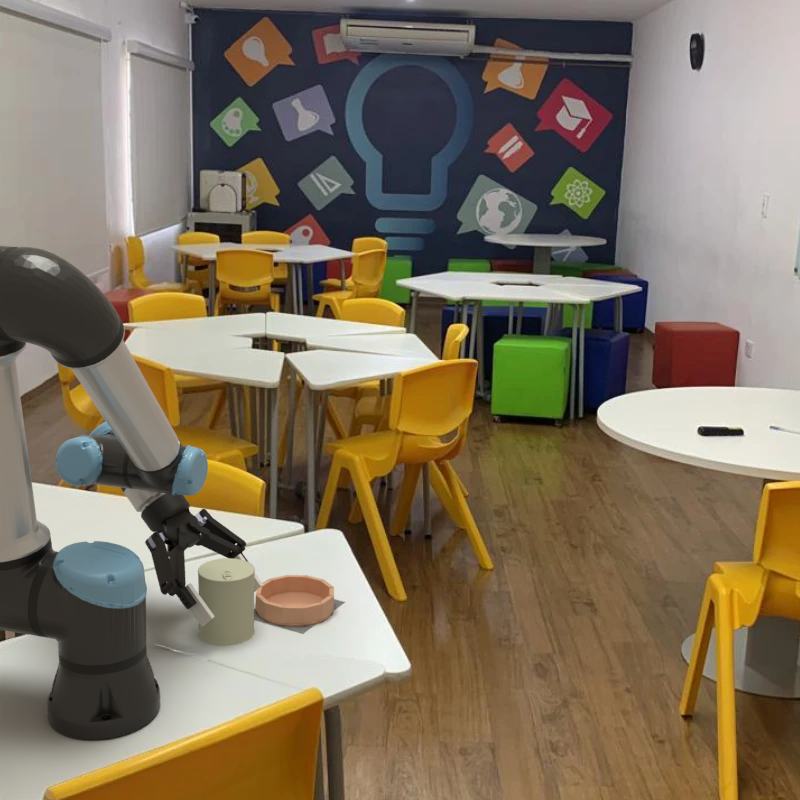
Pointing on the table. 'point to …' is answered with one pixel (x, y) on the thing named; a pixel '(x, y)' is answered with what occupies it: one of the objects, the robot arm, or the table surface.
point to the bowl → (295, 600)
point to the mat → (296, 629)
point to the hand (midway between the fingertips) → (233, 605)
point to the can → (227, 601)
